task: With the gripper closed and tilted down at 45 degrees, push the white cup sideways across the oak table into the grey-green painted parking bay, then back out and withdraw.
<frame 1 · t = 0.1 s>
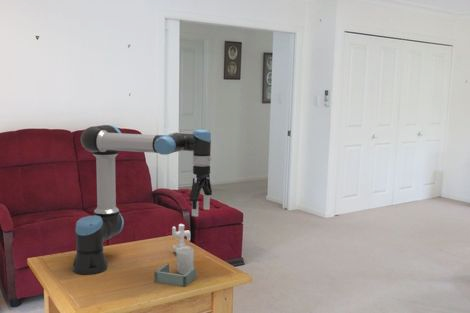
hand: (200, 212, 210), 28 cm above the table, tool pointing down, fingers open, 13 cm apart
figurine: (181, 253, 240), on the table
parking bay: (176, 279, 207), on the table
white cup: (185, 272, 215), on the table
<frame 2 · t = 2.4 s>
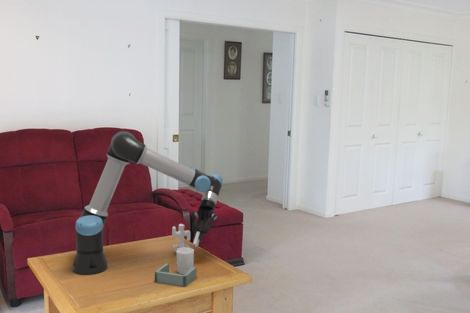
hand: (195, 245, 223), 10 cm above the table, tool tilted 45°, fingers closed
nothing on the table moved.
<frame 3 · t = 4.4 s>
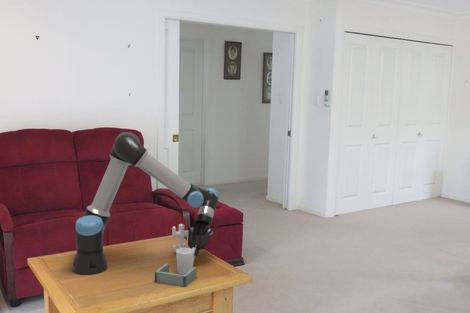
hand: (190, 261, 219), 3 cm above the table, tool tilted 45°, fingers closed
white cup: (185, 272, 215), on the table, touching gripper
everything else where it was.
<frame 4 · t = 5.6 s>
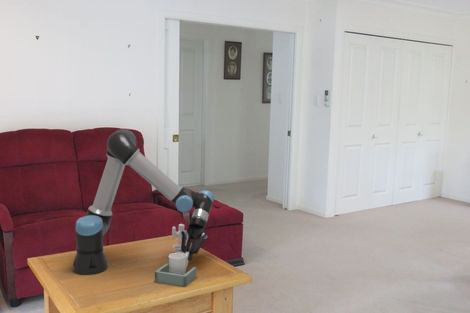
hand: (184, 266, 213), 3 cm above the table, tool tilted 45°, fingers closed
white cup: (177, 277, 209), on the table, touching gripper
everything else where it was.
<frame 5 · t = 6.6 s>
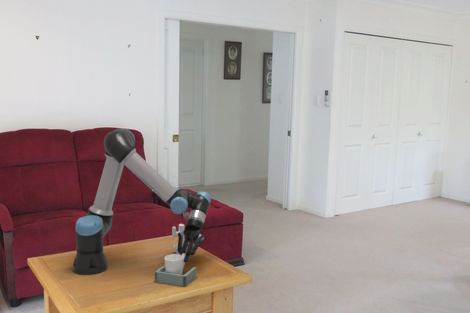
hand: (180, 268, 210), 4 cm above the table, tool tilted 45°, fingers closed
white cup: (174, 279, 206), on the table, touching gripper
everything else where it was.
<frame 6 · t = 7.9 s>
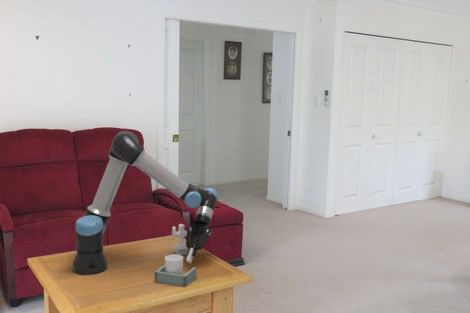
hand: (188, 262, 217), 4 cm above the table, tool tilted 45°, fingers closed
white cup: (174, 280, 206), on the table
everything else where it was.
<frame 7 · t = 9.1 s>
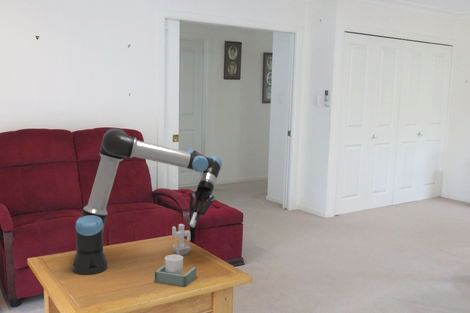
hand: (191, 225, 219), 20 cm above the table, tool tilted 45°, fingers closed
nothing on the table moved.
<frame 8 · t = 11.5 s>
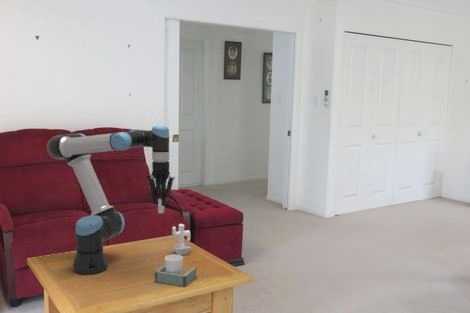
hand: (161, 212, 216), 26 cm above the table, tool pointing down, fingers closed
nothing on the table moved.
at the end: white cup inside the target area (0.9 cm from its centre), on the table; white cup tilted 0°; white cup moved 10.0 cm from its start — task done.
